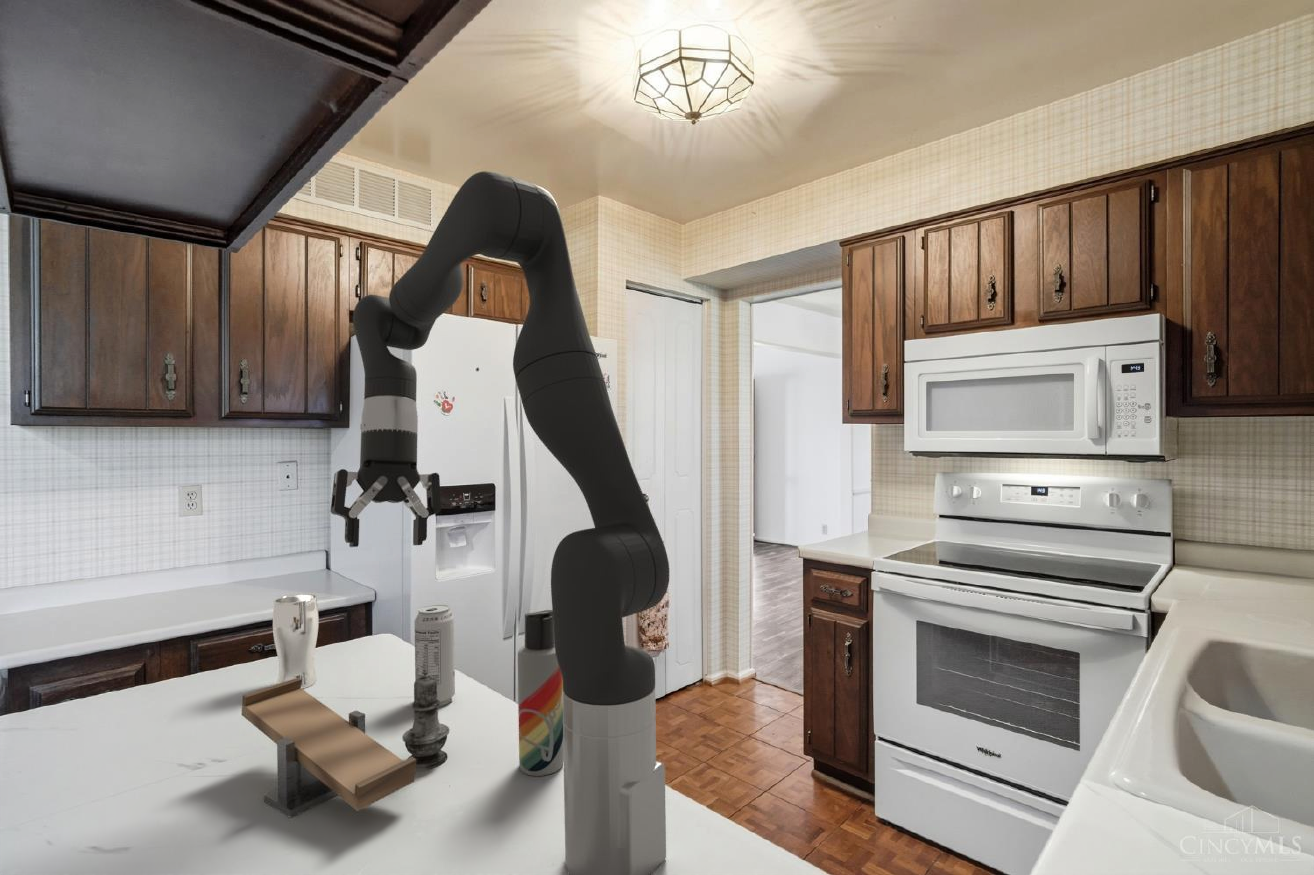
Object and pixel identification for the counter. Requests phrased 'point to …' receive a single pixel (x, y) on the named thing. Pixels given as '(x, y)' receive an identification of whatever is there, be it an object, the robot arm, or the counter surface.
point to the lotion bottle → (540, 698)
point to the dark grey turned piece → (426, 726)
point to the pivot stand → (300, 778)
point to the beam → (328, 744)
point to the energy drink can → (436, 648)
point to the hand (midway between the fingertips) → (386, 546)
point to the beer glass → (296, 637)
